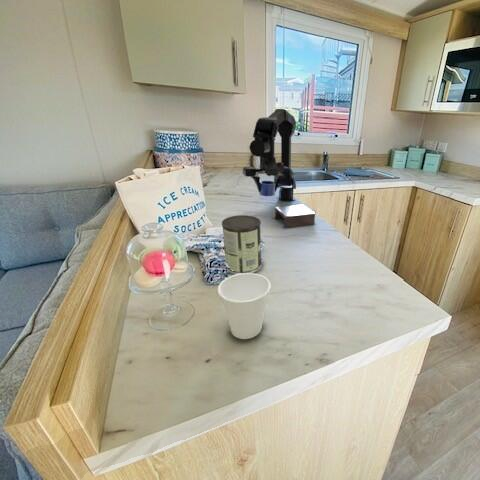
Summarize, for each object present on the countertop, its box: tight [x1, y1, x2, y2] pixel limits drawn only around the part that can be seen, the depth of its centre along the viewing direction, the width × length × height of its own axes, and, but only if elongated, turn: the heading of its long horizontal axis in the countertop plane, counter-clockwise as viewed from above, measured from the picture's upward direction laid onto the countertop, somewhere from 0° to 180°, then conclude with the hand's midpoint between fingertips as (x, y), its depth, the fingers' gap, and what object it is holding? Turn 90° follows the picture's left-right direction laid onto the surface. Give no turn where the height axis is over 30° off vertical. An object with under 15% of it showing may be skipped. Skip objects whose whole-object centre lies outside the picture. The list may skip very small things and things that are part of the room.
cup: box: [217, 272, 272, 340], centre depth 55 cm, size 10×10×11 cm
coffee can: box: [221, 214, 262, 275], centre depth 78 cm, size 10×10×14 cm
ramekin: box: [259, 180, 276, 197], centre depth 115 cm, size 6×6×5 cm
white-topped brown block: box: [274, 204, 316, 229], centre depth 116 cm, size 13×12×5 cm
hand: (267, 191), depth 115 cm, fingers closed on ramekin, 6 cm apart
